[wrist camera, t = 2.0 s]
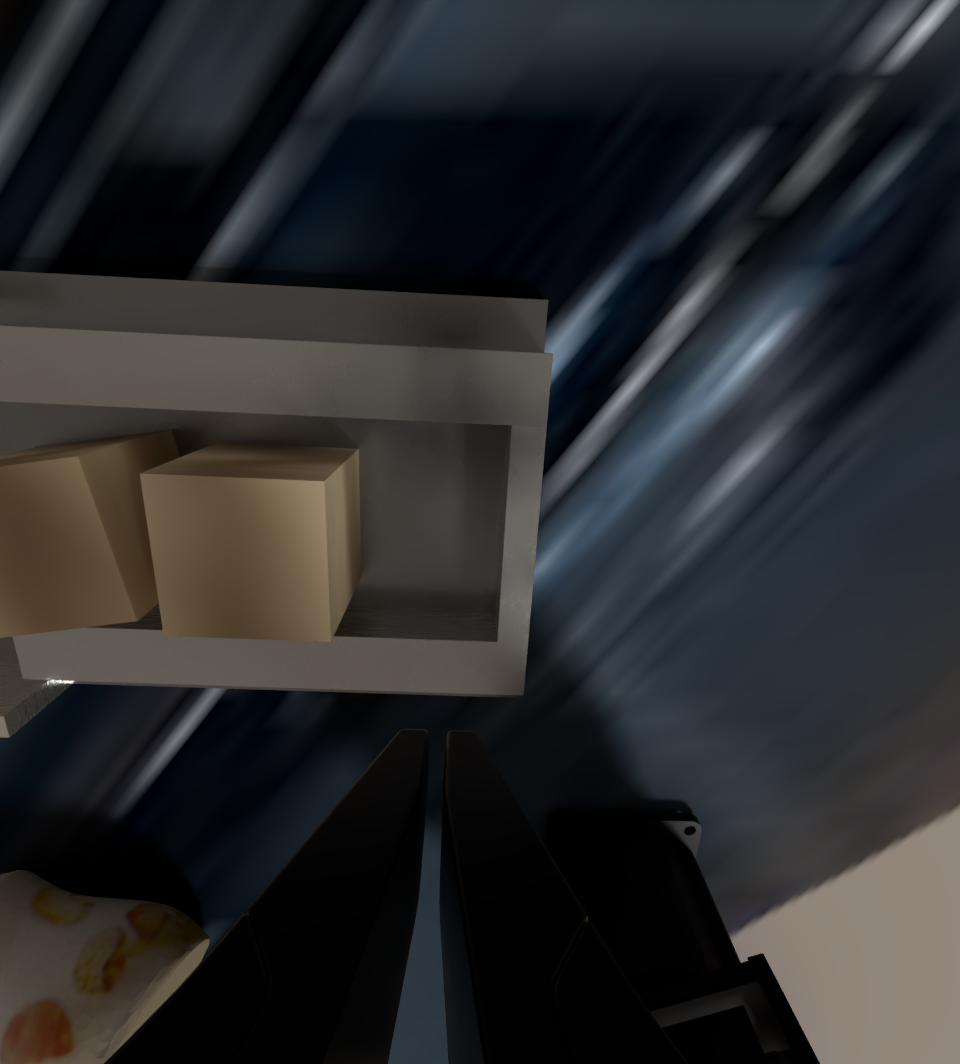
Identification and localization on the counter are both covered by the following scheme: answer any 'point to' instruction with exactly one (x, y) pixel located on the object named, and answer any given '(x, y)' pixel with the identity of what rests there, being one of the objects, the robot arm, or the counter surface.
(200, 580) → the chip
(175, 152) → the counter surface
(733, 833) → the counter surface
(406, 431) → the rail board
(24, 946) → the cream ceramic pitcher
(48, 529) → the chip
